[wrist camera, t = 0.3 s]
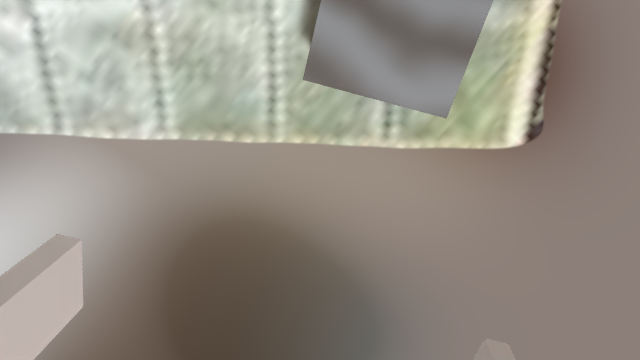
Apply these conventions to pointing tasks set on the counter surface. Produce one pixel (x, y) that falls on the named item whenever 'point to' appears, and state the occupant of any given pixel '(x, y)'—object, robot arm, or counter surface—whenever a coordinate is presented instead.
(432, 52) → the slate stand
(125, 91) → the counter surface
